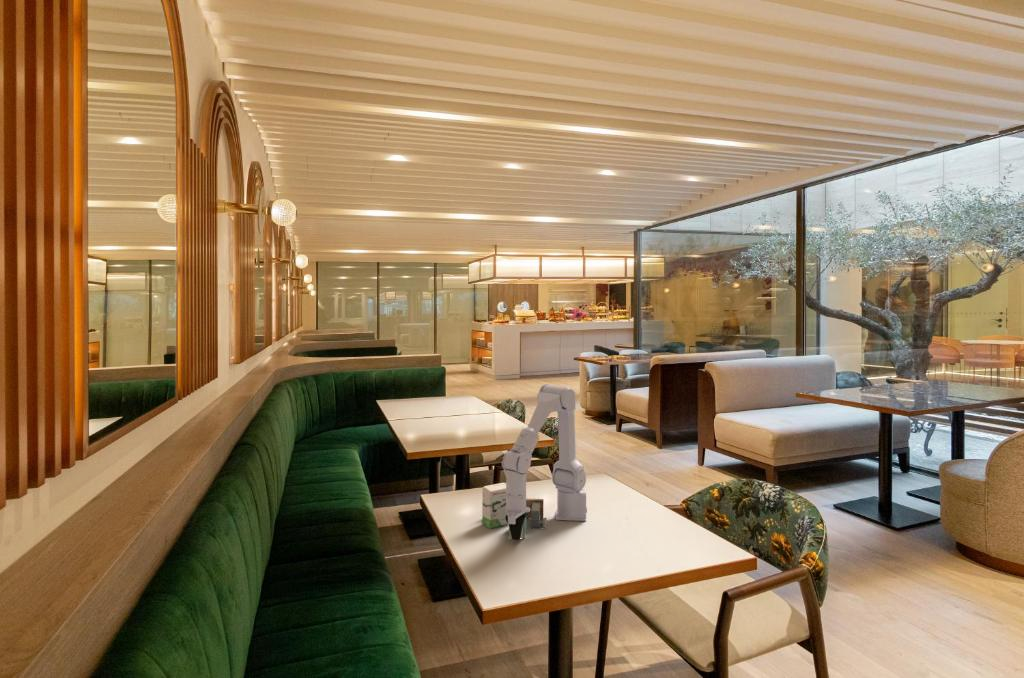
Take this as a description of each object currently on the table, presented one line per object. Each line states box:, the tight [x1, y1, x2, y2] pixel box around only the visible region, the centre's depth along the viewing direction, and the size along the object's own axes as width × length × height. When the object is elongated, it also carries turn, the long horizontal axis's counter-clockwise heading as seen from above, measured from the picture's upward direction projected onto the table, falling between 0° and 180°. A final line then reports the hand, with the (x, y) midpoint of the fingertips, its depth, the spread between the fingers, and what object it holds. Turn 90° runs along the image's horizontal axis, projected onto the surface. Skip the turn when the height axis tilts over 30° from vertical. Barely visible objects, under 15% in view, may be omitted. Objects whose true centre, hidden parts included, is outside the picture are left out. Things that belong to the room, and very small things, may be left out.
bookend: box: [530, 502, 547, 530], centre depth 181 cm, size 4×8×6 cm, turn 174°
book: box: [508, 518, 527, 540], centre depth 173 cm, size 4×8×6 cm, turn 174°
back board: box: [526, 498, 544, 519], centre depth 186 cm, size 17×1×6 cm, turn 84°
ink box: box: [481, 482, 508, 529], centre depth 181 cm, size 9×5×12 cm, turn 123°
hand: (516, 539), depth 167 cm, fingers closed
